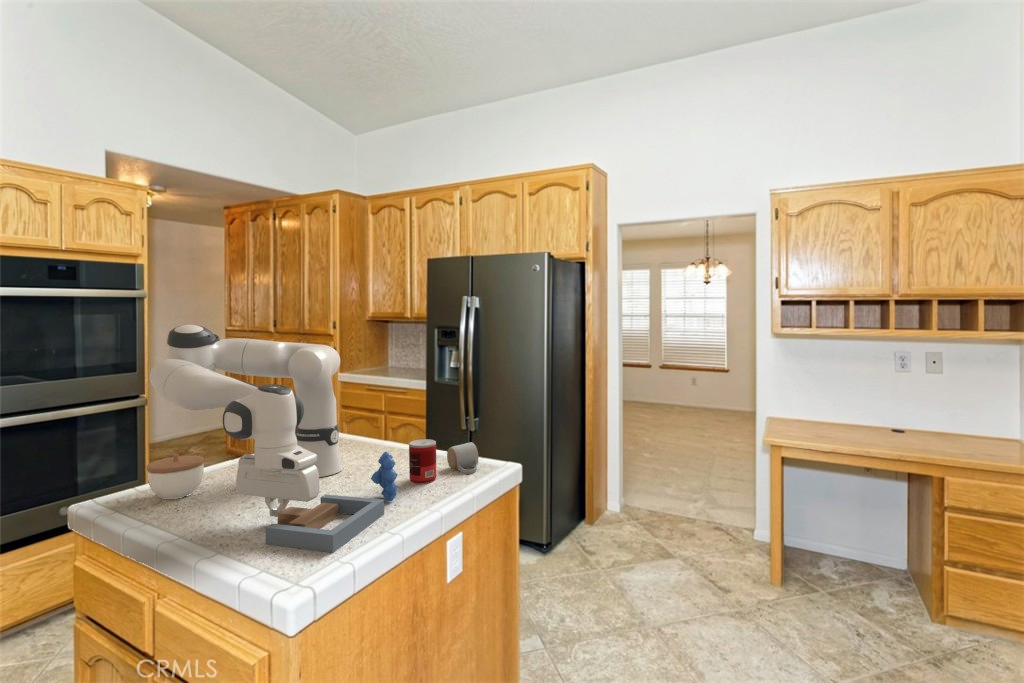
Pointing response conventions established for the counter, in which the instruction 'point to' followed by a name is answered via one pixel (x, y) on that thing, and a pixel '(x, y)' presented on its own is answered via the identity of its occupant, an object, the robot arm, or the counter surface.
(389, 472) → the grapes
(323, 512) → the t block
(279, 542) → the bay
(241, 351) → the robot arm
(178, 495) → the lidded bowl
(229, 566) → the counter surface
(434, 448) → the canned food
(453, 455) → the ceramic mug
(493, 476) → the counter surface
